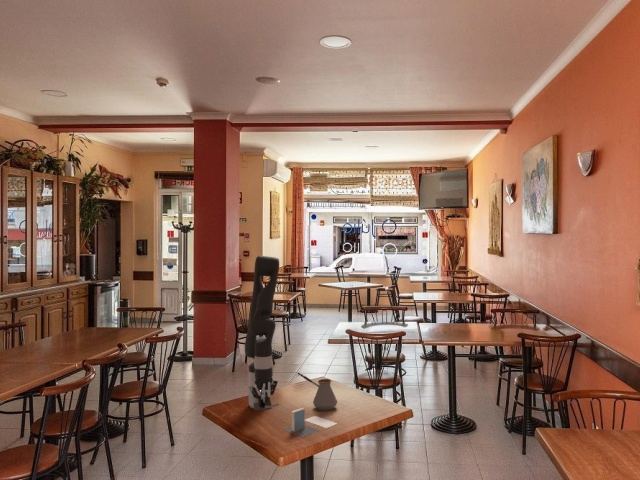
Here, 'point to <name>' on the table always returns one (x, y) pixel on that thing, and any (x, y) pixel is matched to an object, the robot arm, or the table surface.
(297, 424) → the tile
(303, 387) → the table surface
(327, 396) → the coffee pot
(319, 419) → the rest pad
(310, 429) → the mat
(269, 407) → the grey post on base
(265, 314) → the robot arm
